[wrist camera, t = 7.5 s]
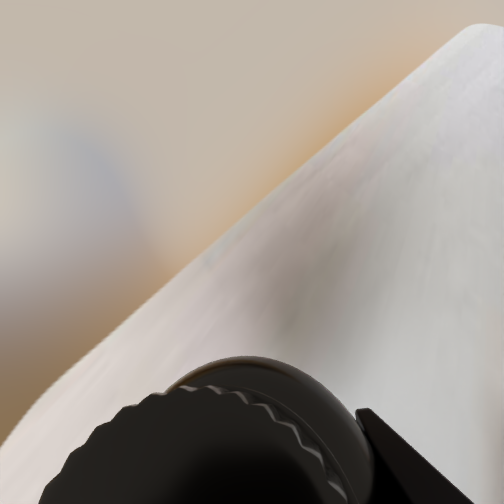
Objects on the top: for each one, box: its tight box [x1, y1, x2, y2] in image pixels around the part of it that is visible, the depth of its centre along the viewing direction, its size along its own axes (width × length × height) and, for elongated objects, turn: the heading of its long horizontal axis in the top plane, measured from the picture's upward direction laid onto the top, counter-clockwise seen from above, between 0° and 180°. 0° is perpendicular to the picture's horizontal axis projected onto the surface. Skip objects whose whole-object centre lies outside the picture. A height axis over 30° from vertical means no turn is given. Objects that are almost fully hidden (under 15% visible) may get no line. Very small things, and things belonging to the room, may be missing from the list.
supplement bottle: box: [38, 356, 395, 504], centre depth 8 cm, size 7×7×12 cm
